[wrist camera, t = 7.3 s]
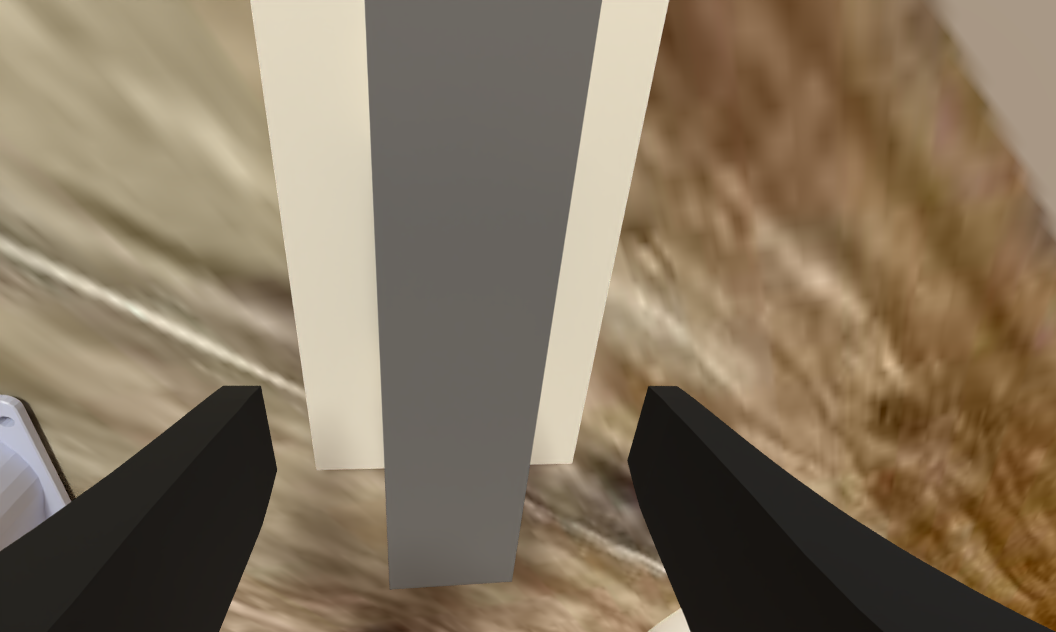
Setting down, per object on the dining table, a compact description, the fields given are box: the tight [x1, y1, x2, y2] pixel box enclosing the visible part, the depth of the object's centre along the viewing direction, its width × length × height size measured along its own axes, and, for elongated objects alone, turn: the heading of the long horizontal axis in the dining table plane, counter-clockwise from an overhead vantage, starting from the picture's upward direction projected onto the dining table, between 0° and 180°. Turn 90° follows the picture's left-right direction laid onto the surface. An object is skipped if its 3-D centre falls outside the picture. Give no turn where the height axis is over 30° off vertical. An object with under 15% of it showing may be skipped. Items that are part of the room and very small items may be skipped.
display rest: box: [250, 0, 669, 470], centre depth 17 cm, size 20×11×2 cm, turn 174°
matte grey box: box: [365, 0, 602, 589], centre depth 13 cm, size 15×4×6 cm, turn 174°
